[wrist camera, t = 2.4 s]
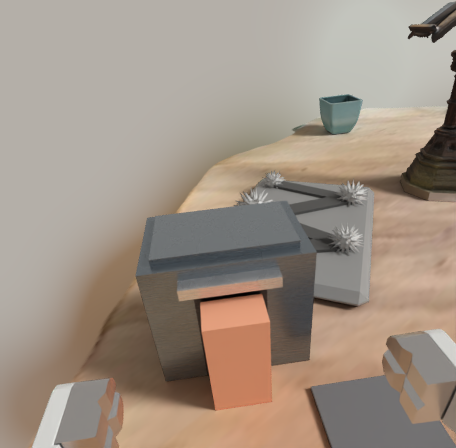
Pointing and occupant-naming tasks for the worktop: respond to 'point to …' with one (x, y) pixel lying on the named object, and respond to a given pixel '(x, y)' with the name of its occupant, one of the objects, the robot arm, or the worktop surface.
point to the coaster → (373, 417)
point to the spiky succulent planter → (329, 232)
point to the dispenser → (226, 279)
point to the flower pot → (340, 113)
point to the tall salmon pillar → (237, 350)
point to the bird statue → (444, 136)
